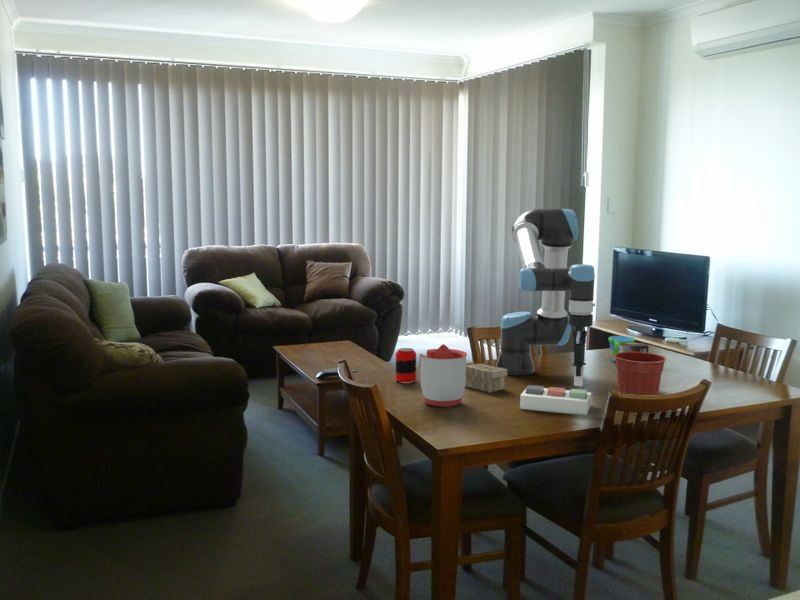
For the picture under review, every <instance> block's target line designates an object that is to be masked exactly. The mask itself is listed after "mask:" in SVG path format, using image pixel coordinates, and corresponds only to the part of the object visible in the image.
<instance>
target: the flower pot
mask: <svg viewBox="0 0 800 600" xmlns="http://www.w3.org/2000/svg"><path fill="white" fill-rule="evenodd" d="M614 357H615V358H616V363H615V366H616V368H617V370H616V371H617V393H618V392H620V393H621V394H635V395H658V396H659V391H660V384H661V378H662V373H663V370H664V367H665V362H667V358H666V357H665V356H664V355H661V354H657V353H652V352H648V353H646V352H620V353H616V354H614Z"/></svg>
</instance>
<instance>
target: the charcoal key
mask: <svg viewBox="0 0 800 600" xmlns="http://www.w3.org/2000/svg"><path fill="white" fill-rule="evenodd" d="M544 388H545V386H544V385H533V384H532V385H531V384H529V385H527V386H526V388H525V389H526V393H528V394H539V395H542V394H543V392H544Z"/></svg>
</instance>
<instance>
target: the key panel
mask: <svg viewBox="0 0 800 600" xmlns="http://www.w3.org/2000/svg"><path fill="white" fill-rule="evenodd" d="M548 389H549V388H548V387H544V392H543V394H542V395H539V394H528V393H526V388H525V389H524V390H523V391H522V392H521V393H520V397H519V400H520V401H519V402H520V403H519V409H520V410H528V411H539V412H549V413H558V414H559V413H560V414H567V415H568V414H570V415H580V416H588V413H589V411H590V409H591V406H592V392H591V391H590V392H589V391H587V397H586V399H583V398H572V397H569V392H570V390H571V389H570V390H569V389H565V395H564V397H561V396H550V395H547V390H548Z"/></svg>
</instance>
